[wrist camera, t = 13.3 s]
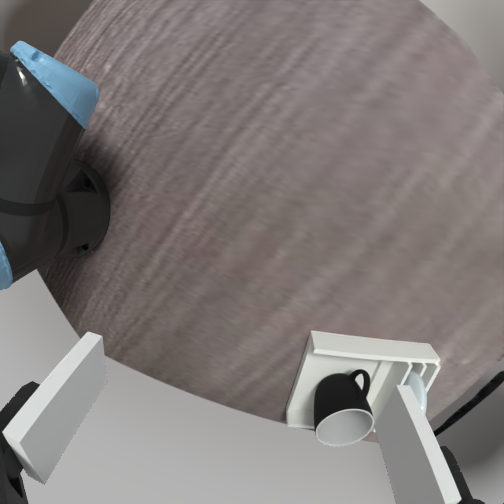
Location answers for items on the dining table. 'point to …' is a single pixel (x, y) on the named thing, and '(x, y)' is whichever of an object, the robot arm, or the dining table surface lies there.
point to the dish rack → (353, 358)
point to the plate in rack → (417, 388)
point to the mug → (342, 409)
